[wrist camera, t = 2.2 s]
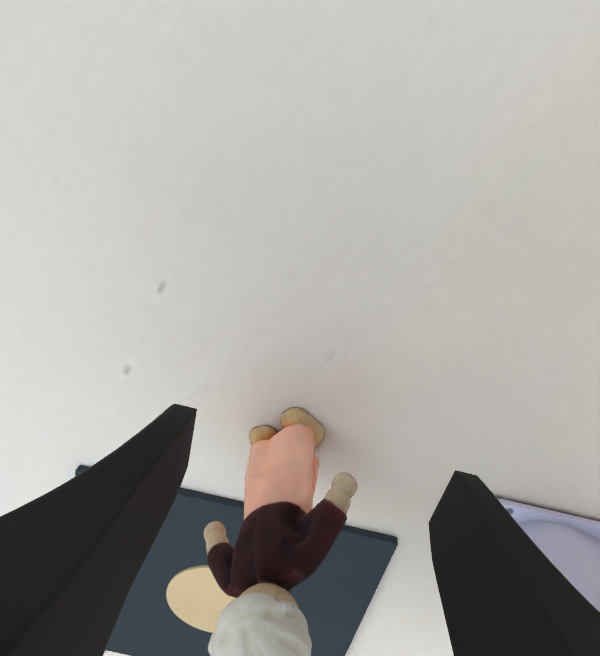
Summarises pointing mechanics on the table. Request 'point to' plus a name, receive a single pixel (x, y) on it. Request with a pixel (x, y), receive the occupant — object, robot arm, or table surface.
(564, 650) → the robot arm
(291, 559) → the grandmother figurine
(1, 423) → the table surface
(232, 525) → the display mat
